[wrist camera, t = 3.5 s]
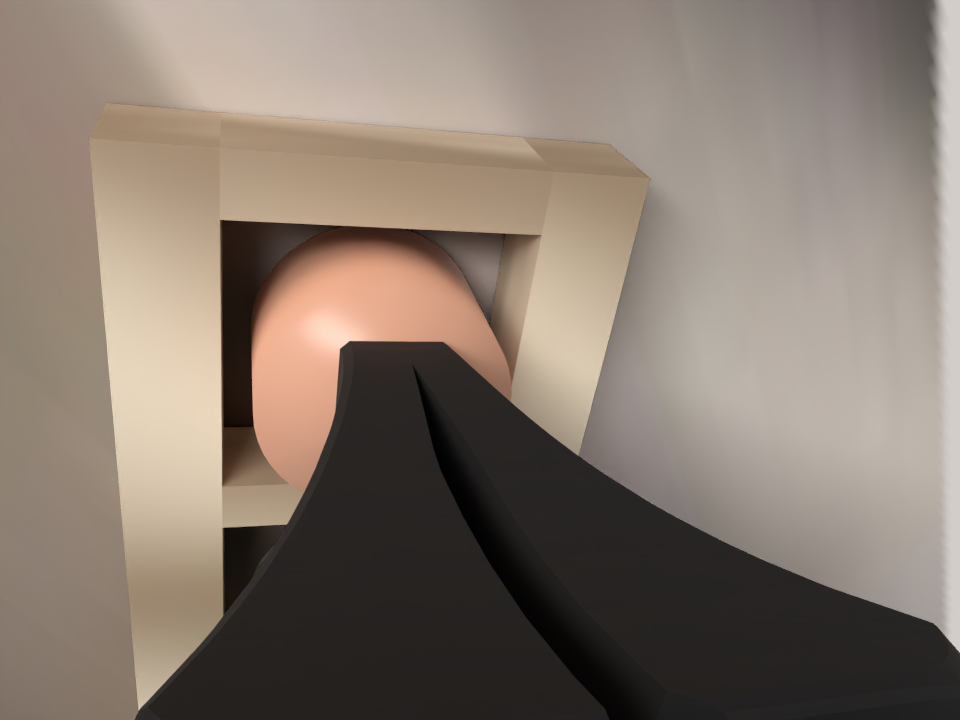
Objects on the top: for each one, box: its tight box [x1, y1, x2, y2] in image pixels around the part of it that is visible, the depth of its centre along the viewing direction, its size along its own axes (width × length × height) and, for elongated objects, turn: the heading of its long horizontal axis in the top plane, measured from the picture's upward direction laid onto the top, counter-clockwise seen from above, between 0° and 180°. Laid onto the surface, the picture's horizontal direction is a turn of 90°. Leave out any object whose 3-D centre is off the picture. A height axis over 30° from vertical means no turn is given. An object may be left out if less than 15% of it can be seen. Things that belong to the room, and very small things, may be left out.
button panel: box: [89, 103, 650, 710], centre depth 15 cm, size 16×7×2 cm, turn 171°
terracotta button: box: [251, 226, 512, 493], centre depth 12 cm, size 3×3×2 cm
